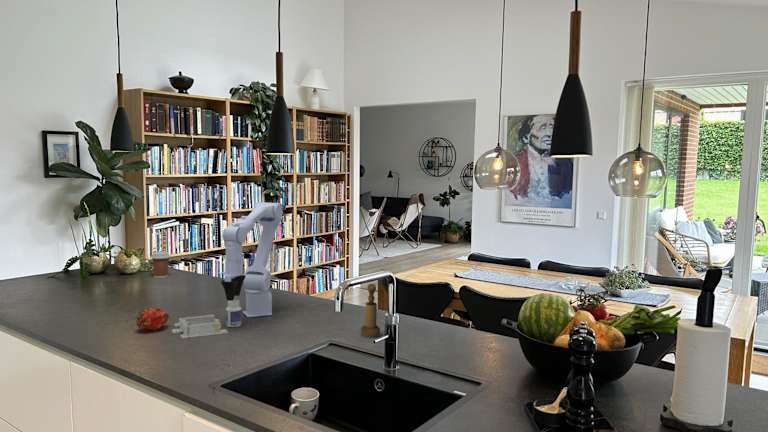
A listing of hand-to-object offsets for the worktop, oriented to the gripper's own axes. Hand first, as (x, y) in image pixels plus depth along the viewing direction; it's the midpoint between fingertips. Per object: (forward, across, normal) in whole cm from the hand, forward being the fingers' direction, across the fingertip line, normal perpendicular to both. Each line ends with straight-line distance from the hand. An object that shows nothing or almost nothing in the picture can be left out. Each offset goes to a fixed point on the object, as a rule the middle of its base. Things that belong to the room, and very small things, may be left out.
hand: (233, 297), depth 193 cm
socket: (+10, +6, -10) cm, 16 cm away
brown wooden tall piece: (+10, +5, +49) cm, 51 cm away
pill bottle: (+10, 0, 0) cm, 10 cm away
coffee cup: (+9, -76, -58) cm, 96 cm away
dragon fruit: (+10, +8, -25) cm, 28 cm away
